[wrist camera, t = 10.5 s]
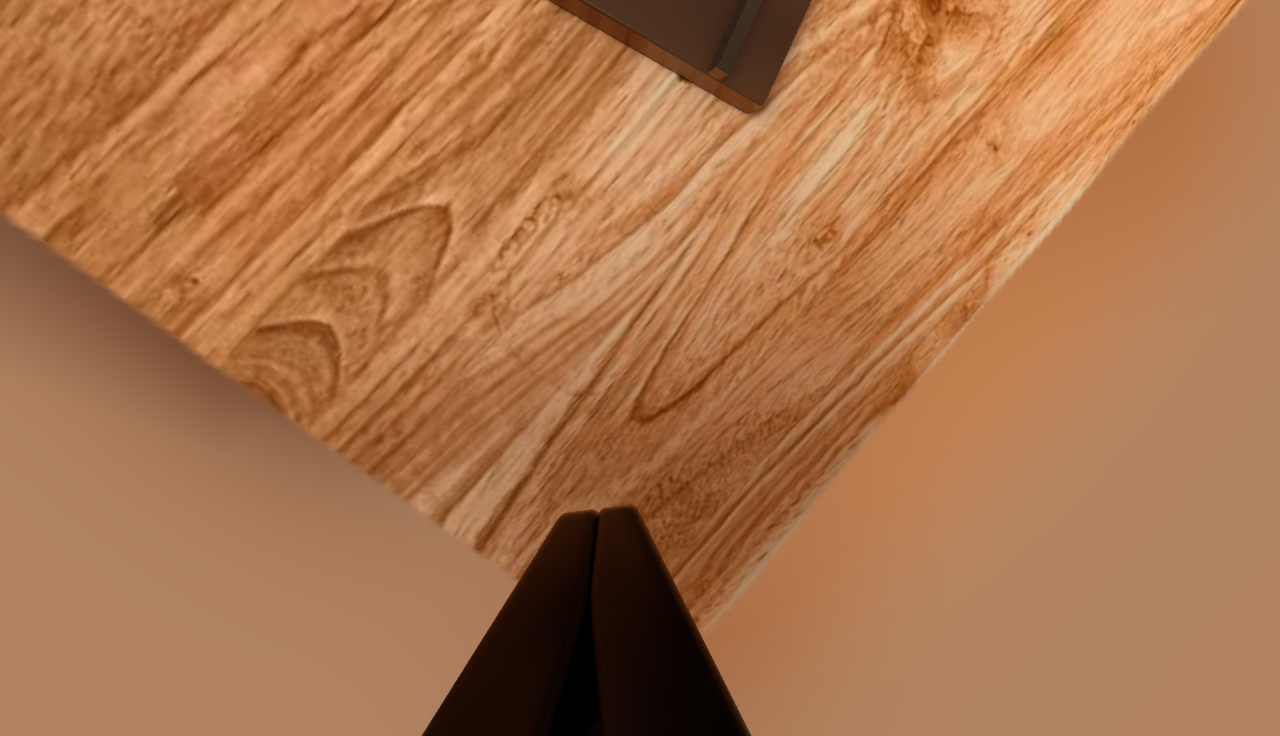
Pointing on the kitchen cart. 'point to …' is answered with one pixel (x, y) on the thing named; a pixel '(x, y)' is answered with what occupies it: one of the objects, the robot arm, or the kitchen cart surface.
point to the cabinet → (705, 39)
